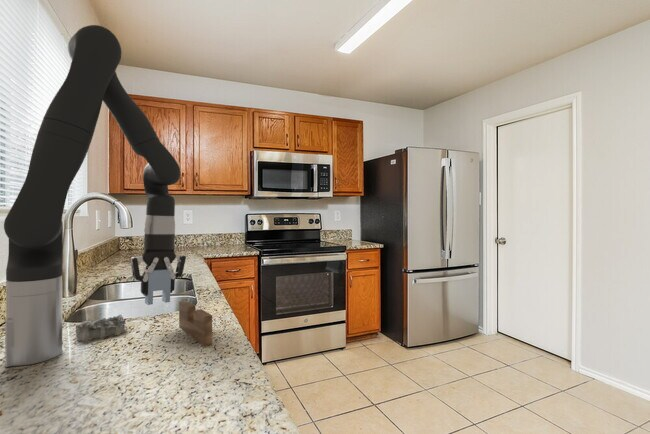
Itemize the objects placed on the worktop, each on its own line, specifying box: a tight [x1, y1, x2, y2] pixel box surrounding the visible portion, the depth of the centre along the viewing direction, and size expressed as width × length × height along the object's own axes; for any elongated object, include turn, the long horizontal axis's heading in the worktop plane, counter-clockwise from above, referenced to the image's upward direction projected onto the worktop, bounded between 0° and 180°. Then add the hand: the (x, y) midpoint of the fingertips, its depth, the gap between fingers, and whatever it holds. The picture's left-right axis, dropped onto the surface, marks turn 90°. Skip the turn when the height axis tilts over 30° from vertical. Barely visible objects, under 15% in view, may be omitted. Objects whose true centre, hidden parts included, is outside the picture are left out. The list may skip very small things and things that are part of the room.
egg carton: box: [75, 314, 127, 342], centre depth 88 cm, size 11×8×4 cm
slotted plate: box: [178, 300, 213, 348], centre depth 86 cm, size 2×18×7 cm, turn 41°
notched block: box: [144, 268, 171, 306], centre depth 92 cm, size 6×3×9 cm, turn 132°
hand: (157, 293), depth 92 cm, fingers closed on notched block, 5 cm apart
